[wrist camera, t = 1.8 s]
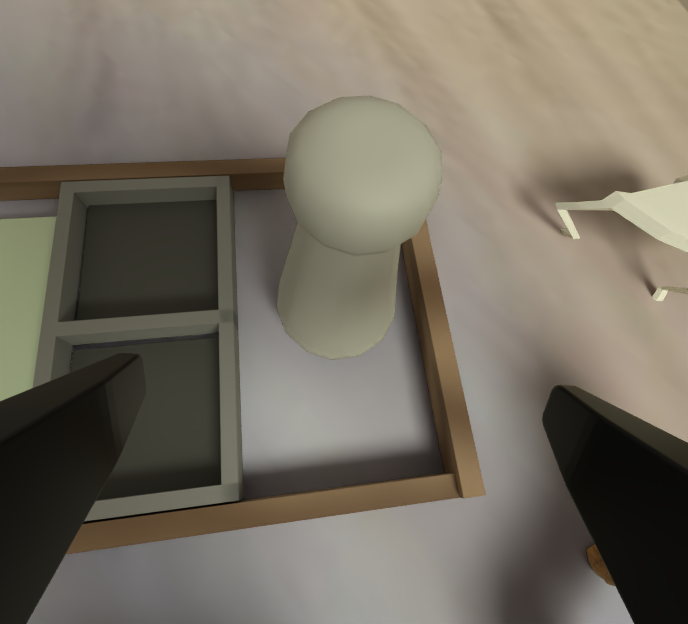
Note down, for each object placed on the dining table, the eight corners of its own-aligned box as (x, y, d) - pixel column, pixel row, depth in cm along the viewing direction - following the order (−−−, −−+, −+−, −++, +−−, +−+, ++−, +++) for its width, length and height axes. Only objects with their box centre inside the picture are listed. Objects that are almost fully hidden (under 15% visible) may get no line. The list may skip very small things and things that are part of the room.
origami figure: (697, 201, 28) (775, 148, 23) (739, 318, 25) (839, 285, 20) (527, 191, 27) (573, 134, 22) (549, 311, 24) (608, 274, 19)
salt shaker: (257, 317, 22) (196, 133, 10) (330, 250, 24) (356, 24, 12) (337, 392, 21) (383, 291, 9) (407, 316, 23) (525, 144, 10)
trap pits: (243, 497, 19) (238, 500, 17) (35, 525, 18) (12, 531, 16) (233, 192, 24) (229, 175, 23) (75, 198, 23) (61, 181, 22)
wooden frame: (468, 492, 20) (485, 495, 18) (-263, 596, 16) (-338, 614, 14) (402, 170, 26) (410, 147, 24) (-130, 190, 22) (-169, 166, 20)
